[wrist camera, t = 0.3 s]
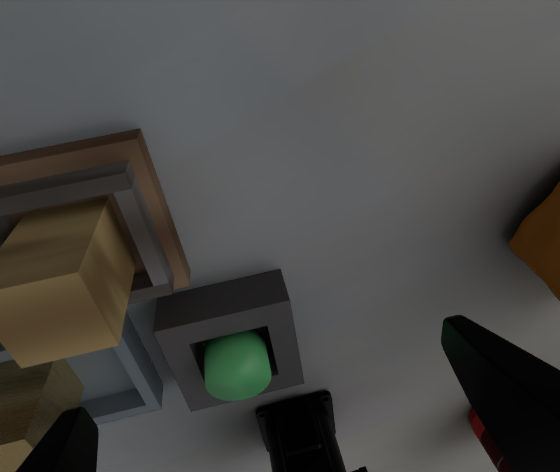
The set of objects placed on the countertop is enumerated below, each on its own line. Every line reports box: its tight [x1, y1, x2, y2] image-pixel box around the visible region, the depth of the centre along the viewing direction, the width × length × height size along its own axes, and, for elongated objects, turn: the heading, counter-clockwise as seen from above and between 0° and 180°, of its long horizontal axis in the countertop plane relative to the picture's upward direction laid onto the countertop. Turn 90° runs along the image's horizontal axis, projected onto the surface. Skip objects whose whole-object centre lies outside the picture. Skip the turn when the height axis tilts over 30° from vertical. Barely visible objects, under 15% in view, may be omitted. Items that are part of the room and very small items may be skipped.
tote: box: [0, 313, 163, 425], centre depth 26 cm, size 9×14×2 cm, turn 99°
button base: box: [153, 269, 304, 412], centre depth 26 cm, size 8×8×3 cm
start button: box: [204, 328, 271, 401], centre depth 25 cm, size 4×4×3 cm
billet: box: [0, 358, 84, 472], centre depth 24 cm, size 4×4×6 cm
